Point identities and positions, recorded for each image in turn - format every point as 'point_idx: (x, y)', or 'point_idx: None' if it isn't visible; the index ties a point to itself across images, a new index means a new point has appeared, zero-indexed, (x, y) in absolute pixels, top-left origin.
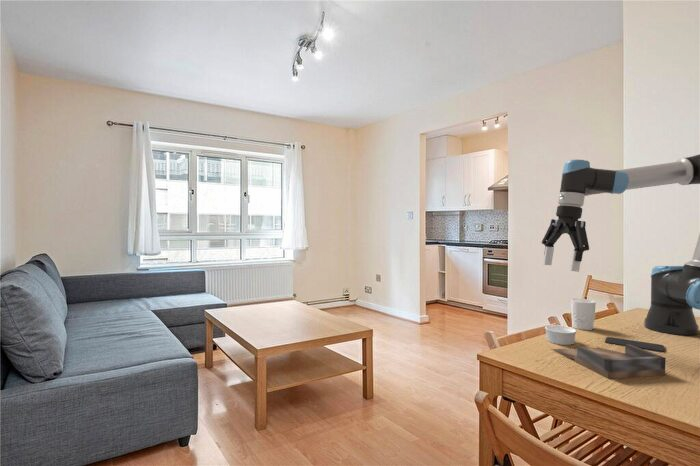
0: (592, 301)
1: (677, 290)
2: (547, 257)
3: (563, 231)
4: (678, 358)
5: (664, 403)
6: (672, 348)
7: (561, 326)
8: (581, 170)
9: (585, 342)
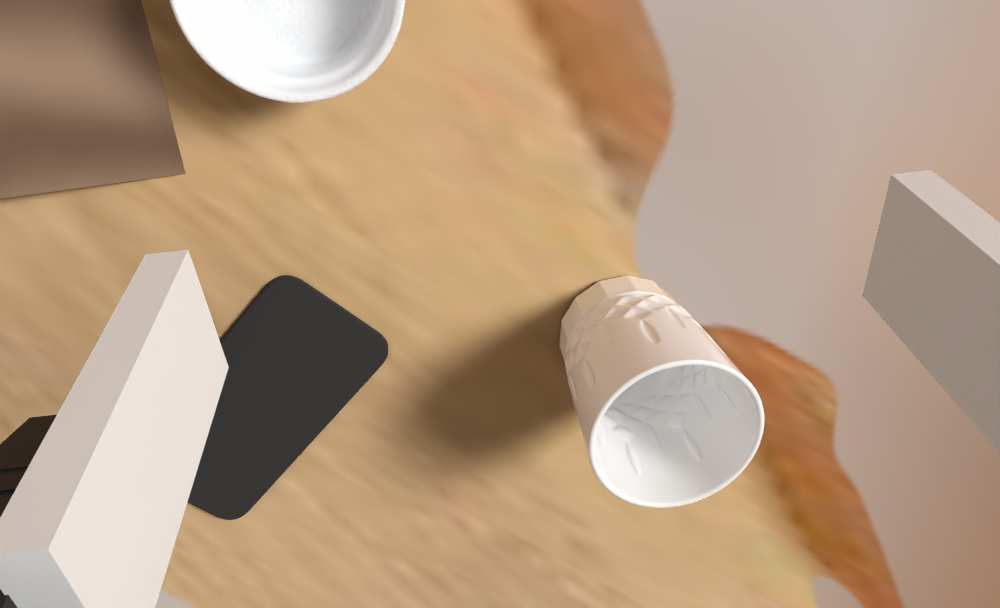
0: (670, 498)
1: None
2: (965, 285)
3: None
4: None
5: None
6: (206, 536)
7: (379, 49)
8: None
9: (285, 152)
